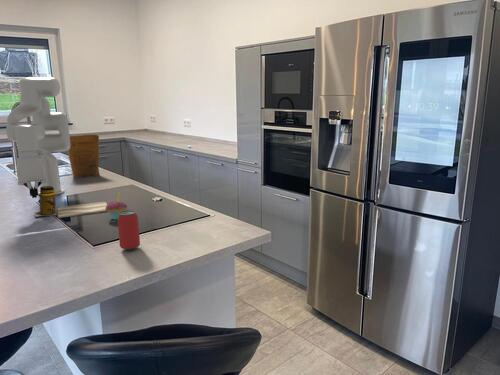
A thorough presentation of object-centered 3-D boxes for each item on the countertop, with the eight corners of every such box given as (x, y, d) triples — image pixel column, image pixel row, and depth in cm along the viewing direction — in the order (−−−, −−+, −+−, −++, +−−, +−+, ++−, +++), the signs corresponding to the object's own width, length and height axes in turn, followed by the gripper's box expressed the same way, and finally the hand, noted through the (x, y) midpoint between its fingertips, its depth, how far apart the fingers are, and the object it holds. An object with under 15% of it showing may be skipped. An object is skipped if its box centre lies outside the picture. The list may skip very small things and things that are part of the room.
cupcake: (131, 216, 164) (129, 188, 161) (119, 221, 156) (116, 193, 153) (115, 214, 167) (112, 187, 164) (102, 220, 159) (99, 192, 156)
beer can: (122, 243, 132) (119, 210, 130) (141, 242, 133) (139, 209, 130) (117, 250, 126) (114, 215, 123) (138, 249, 126) (135, 215, 124)
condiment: (57, 215, 166) (56, 188, 164) (35, 217, 162) (33, 189, 159) (55, 211, 172) (54, 185, 170) (34, 212, 168) (32, 186, 165)
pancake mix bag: (102, 178, 246) (98, 134, 240) (70, 180, 239) (65, 136, 233) (102, 176, 252) (98, 134, 246) (70, 178, 245) (65, 135, 239)
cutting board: (57, 208, 176) (57, 207, 176) (105, 203, 185) (105, 201, 185) (58, 217, 162) (57, 216, 162) (110, 211, 171) (109, 209, 171)
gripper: (49, 152, 166) (54, 193, 170) (9, 154, 159) (15, 197, 163) (48, 154, 159) (54, 197, 163) (6, 157, 153) (13, 201, 157)
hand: (34, 197), depth 163 cm, fingers closed
